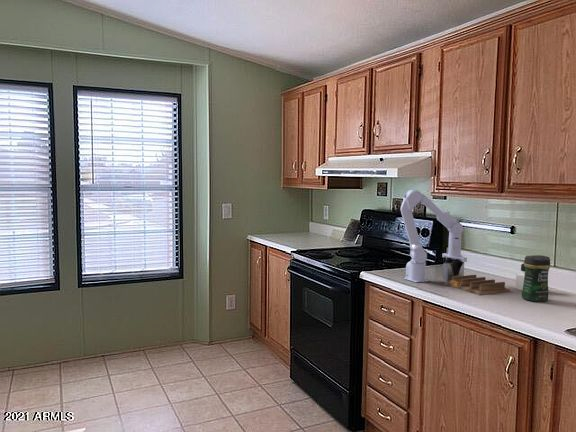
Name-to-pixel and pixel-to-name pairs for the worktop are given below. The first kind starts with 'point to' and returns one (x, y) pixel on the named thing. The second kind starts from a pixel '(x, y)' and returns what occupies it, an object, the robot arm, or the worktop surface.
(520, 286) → the medicine bottle
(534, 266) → the coffee jar
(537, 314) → the worktop surface
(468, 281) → the slot rack
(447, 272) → the grey brushed metal block
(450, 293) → the worktop surface
